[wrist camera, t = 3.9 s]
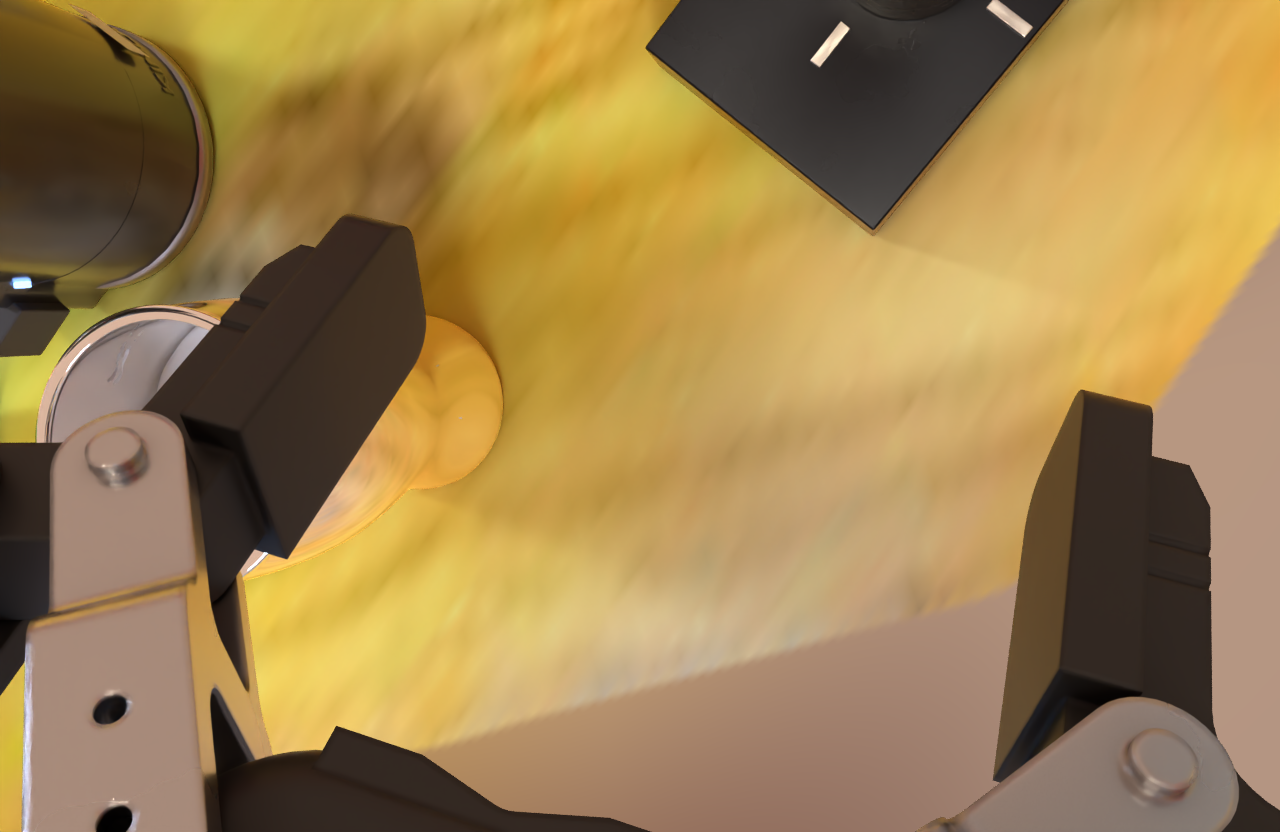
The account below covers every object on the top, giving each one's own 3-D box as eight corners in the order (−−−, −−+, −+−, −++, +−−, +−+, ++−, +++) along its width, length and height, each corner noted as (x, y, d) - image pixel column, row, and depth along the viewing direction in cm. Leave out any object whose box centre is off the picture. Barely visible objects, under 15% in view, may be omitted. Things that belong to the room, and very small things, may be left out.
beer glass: (413, 539, 40) (155, 668, 26) (292, 388, 41) (-31, 430, 26) (556, 415, 39) (371, 476, 24) (430, 260, 39) (171, 228, 25)
